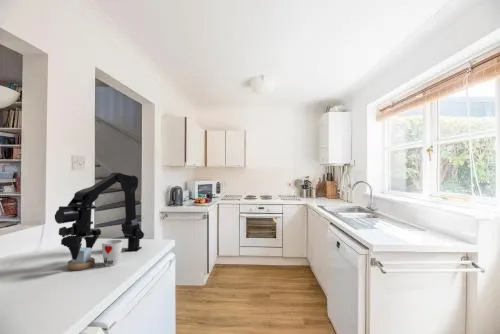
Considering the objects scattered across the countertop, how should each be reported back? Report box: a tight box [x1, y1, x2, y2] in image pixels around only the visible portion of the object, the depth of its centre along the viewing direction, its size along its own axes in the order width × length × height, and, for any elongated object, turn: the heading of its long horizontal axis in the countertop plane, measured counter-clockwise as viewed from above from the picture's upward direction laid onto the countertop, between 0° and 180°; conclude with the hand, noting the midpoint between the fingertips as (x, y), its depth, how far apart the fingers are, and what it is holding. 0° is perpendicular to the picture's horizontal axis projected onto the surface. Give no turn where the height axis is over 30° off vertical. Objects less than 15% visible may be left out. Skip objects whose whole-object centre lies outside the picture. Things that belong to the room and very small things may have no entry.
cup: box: [101, 239, 123, 267], centre depth 118 cm, size 8×8×10 cm
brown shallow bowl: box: [66, 256, 96, 272], centre depth 113 cm, size 10×10×2 cm
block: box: [71, 246, 92, 263], centre depth 113 cm, size 5×5×5 cm
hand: (81, 256), depth 113 cm, fingers open, 9 cm apart
